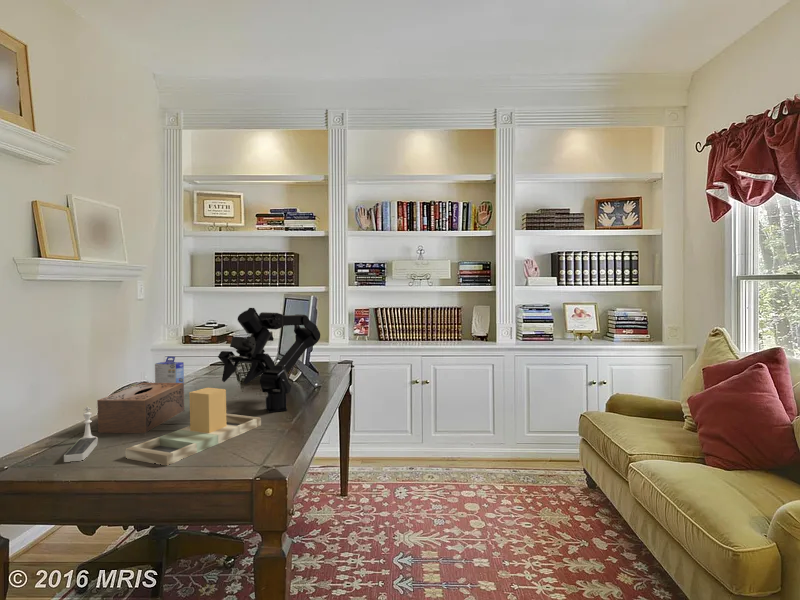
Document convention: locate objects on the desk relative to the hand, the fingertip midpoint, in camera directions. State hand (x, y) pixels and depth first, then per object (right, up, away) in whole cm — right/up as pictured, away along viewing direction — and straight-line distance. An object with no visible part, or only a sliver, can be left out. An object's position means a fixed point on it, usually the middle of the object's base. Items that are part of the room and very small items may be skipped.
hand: (233, 382), depth 161 cm
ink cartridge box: (-41, -12, +48) cm, 65 cm away
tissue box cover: (-31, -14, +8) cm, 35 cm away
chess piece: (-37, -15, -14) cm, 42 cm away
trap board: (-5, -14, -13) cm, 20 cm away
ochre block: (-4, -12, -10) cm, 16 cm away
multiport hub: (-33, -16, -23) cm, 43 cm away
